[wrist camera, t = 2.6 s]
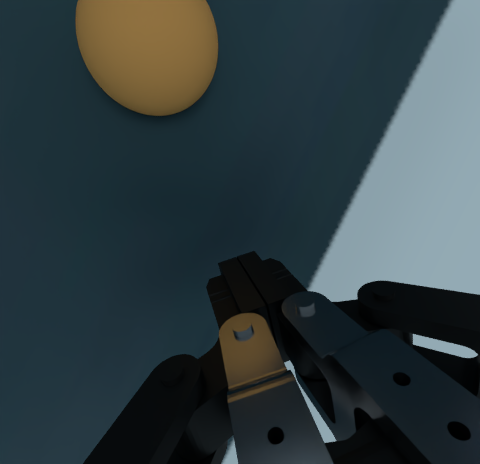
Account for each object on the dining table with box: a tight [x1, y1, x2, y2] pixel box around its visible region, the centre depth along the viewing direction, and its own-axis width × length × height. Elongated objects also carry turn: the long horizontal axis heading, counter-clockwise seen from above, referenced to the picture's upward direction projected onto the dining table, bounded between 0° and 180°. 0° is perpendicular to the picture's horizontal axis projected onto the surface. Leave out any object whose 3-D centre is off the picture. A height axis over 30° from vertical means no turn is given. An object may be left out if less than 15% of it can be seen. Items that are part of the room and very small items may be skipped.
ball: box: [76, 0, 218, 116], centre depth 13 cm, size 6×6×6 cm
